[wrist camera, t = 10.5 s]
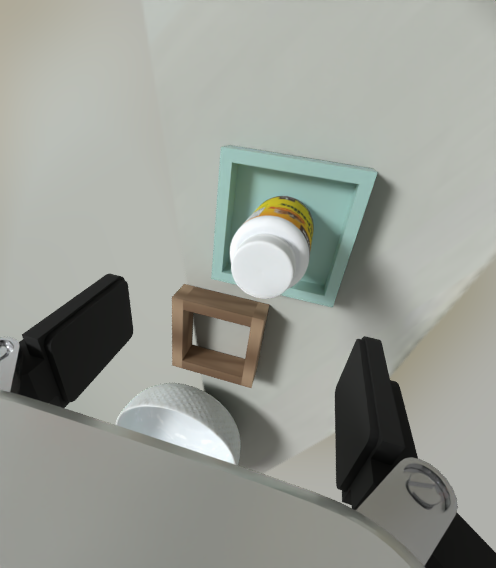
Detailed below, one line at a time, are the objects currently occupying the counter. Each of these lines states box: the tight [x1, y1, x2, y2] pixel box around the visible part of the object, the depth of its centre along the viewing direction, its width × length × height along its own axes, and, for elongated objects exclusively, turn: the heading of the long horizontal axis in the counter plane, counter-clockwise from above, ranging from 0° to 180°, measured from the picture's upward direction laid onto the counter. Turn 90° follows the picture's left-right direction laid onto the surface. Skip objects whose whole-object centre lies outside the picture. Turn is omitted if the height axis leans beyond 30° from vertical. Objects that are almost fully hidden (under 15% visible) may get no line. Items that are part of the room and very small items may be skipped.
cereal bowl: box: [116, 383, 241, 465], centre depth 40 cm, size 17×17×7 cm
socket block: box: [172, 284, 269, 388], centre depth 33 cm, size 10×10×3 cm
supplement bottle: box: [230, 196, 314, 299], centre depth 22 cm, size 6×6×10 cm
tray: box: [211, 145, 378, 307], centre depth 26 cm, size 12×12×2 cm
